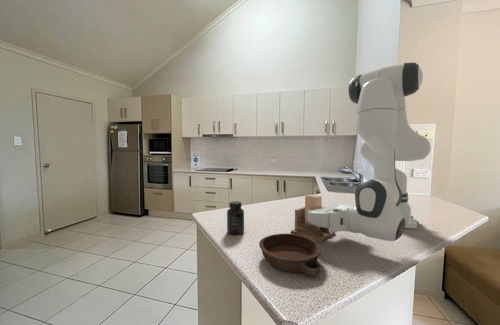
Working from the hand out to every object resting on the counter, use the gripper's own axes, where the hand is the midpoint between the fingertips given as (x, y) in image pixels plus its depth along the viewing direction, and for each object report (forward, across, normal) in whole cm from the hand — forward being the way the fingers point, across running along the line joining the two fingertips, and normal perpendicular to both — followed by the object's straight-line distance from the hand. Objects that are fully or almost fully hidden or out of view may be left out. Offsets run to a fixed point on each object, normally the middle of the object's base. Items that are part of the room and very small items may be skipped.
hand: (311, 209), depth 82 cm
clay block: (-1, 0, +6) cm, 7 cm away
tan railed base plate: (-1, 0, +9) cm, 9 cm away
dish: (-8, +23, +10) cm, 27 cm away
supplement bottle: (+20, +22, +10) cm, 31 cm away
